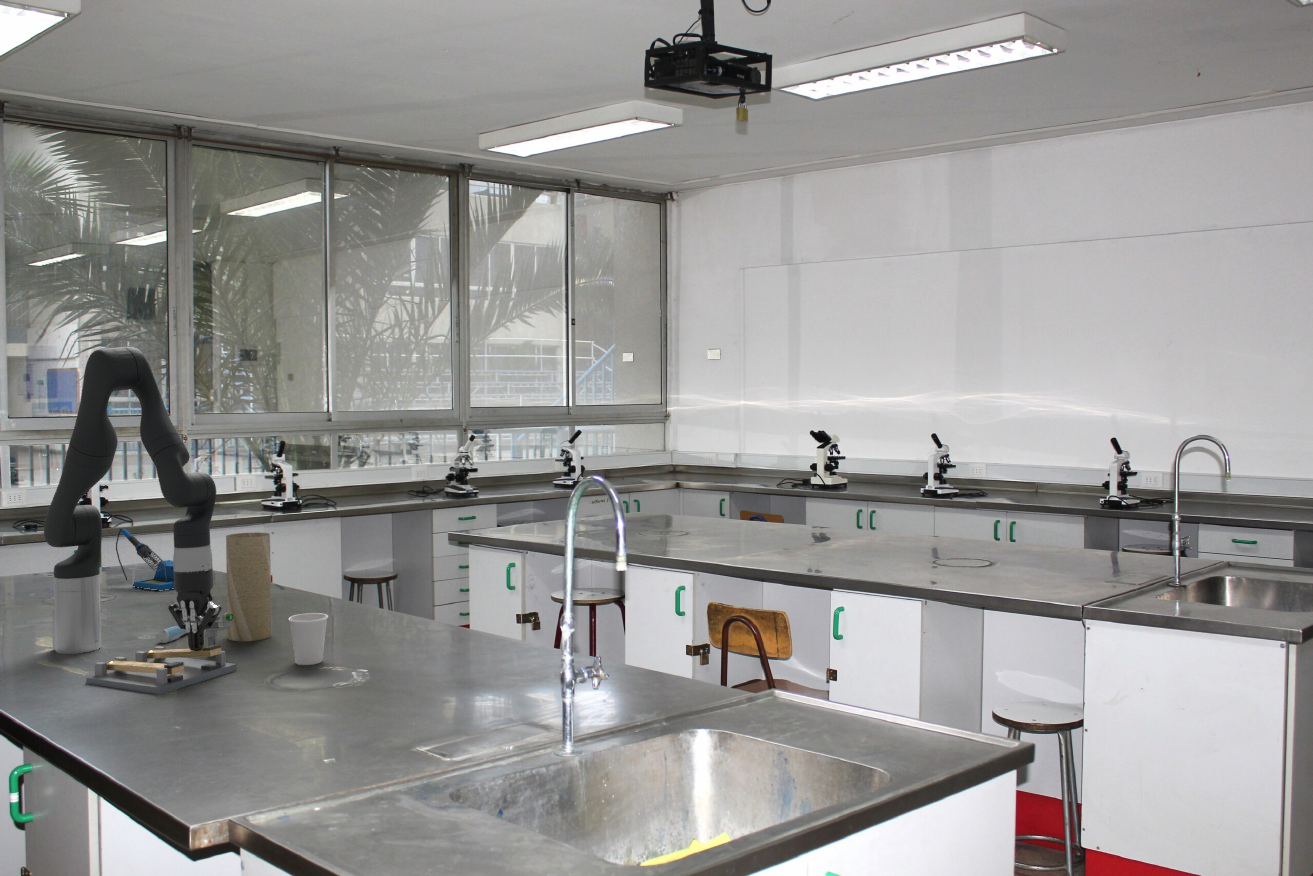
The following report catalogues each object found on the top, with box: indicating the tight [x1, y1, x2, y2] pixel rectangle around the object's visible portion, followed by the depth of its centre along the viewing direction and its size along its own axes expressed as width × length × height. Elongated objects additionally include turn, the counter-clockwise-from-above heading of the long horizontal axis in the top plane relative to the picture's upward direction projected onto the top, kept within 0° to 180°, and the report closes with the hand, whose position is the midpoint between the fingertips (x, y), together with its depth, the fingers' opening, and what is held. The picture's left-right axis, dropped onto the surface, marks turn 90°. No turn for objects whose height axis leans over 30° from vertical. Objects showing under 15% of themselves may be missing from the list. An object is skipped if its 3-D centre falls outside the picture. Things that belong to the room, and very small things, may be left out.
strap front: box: [106, 659, 184, 675], centre depth 213 cm, size 19×3×2 cm, turn 68°
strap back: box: [146, 644, 222, 660], centre depth 223 cm, size 19×3×2 cm, turn 68°
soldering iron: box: [115, 528, 174, 590], centre depth 335 cm, size 35×31×18 cm
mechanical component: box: [189, 612, 233, 647], centre depth 236 cm, size 3×10×10 cm, turn 79°
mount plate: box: [85, 645, 237, 695], centre depth 218 cm, size 20×20×4 cm
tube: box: [225, 532, 273, 642], centre depth 255 cm, size 10×10×25 cm
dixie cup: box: [288, 612, 329, 666], centre depth 231 cm, size 8×8×10 cm
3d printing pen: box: [156, 625, 188, 644], centre depth 257 cm, size 19×3×3 cm, turn 174°
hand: (196, 649), depth 221 cm, fingers closed
